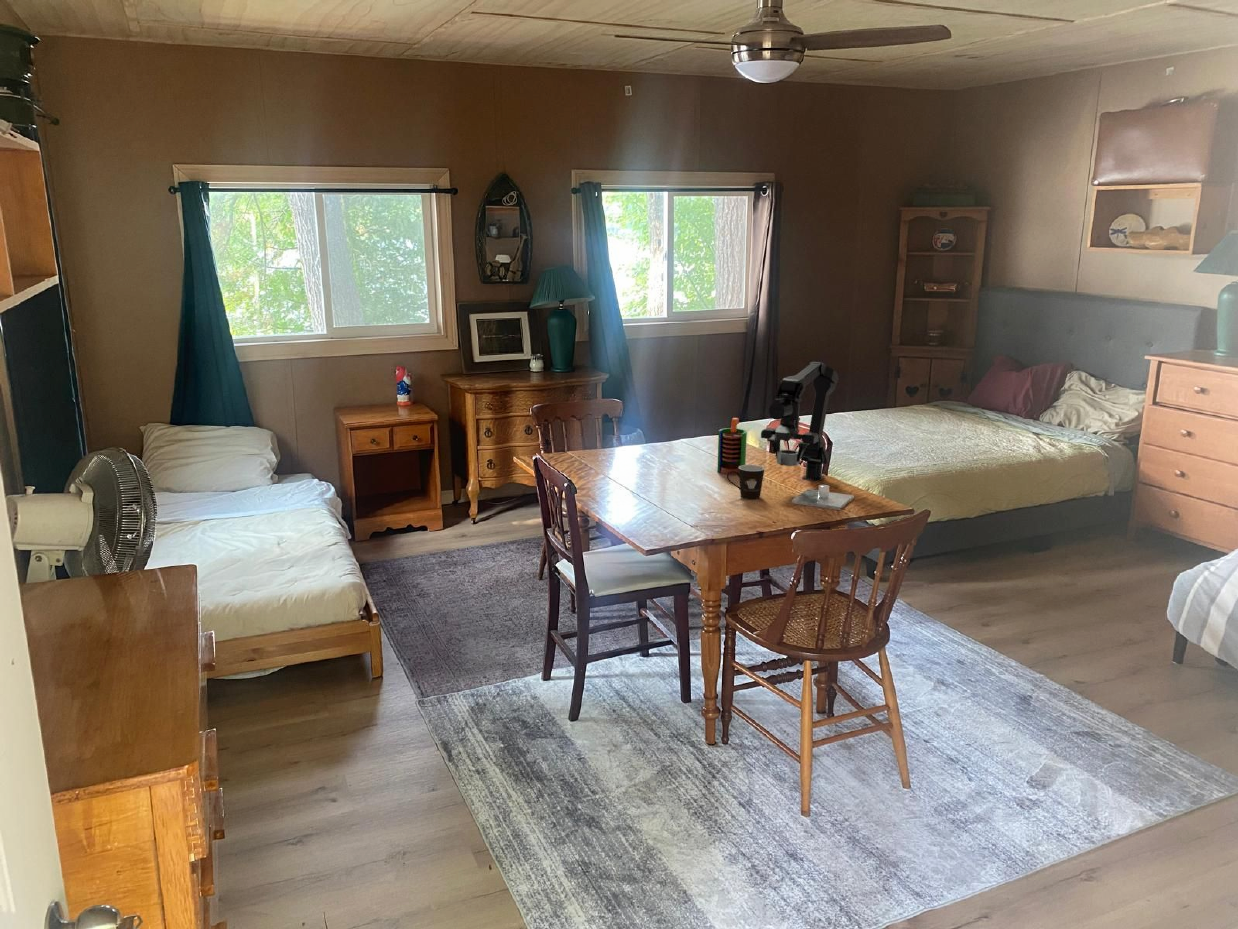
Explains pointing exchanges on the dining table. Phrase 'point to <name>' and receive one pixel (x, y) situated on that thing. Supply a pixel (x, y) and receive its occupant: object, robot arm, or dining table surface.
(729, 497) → the dining table surface
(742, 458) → the motor
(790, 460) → the octagonal hollow lampshade
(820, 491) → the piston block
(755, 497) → the coffee mug
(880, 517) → the dining table surface
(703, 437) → the dining table surface
